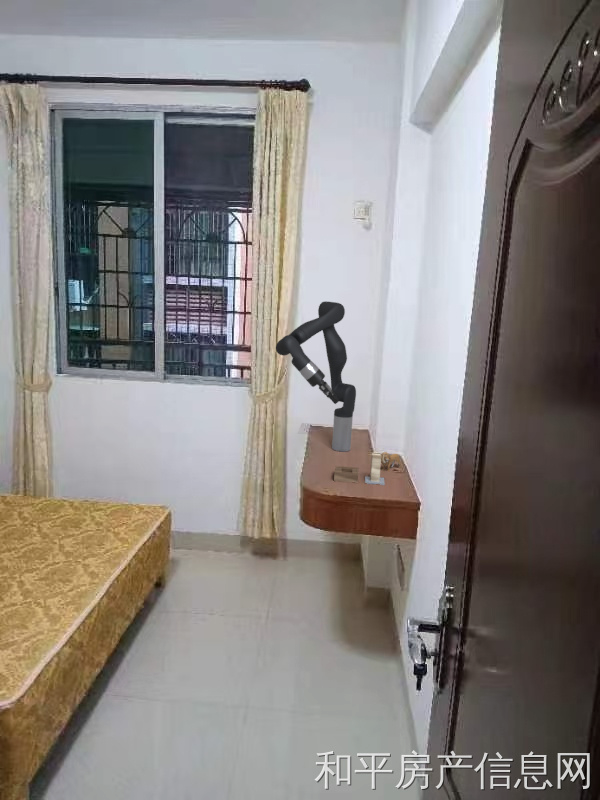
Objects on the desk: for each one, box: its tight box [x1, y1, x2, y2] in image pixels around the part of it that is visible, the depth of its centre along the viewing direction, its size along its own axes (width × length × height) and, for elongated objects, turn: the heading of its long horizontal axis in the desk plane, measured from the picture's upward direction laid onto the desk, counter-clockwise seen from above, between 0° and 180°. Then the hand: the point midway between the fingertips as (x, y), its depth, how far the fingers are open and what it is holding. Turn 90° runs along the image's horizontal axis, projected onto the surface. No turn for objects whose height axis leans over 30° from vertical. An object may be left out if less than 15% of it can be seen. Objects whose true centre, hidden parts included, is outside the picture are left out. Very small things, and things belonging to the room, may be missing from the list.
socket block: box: [333, 465, 360, 484], centre depth 252 cm, size 10×10×4 cm
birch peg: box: [369, 452, 382, 482], centre depth 249 cm, size 4×4×11 cm
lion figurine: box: [380, 451, 402, 472], centre depth 268 cm, size 15×5×9 cm, turn 140°
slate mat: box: [364, 475, 386, 486], centre depth 250 cm, size 8×8×1 cm
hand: (336, 400), depth 260 cm, fingers open, 8 cm apart
